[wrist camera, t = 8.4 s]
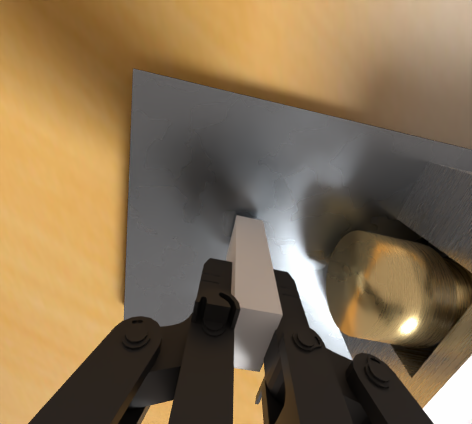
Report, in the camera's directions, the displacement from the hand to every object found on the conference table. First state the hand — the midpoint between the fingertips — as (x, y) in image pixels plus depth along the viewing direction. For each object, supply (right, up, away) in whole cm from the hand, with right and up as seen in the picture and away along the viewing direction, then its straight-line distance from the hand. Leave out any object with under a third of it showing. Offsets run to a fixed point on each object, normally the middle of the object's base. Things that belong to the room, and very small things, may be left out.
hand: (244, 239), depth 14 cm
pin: (+13, -2, +1) cm, 13 cm away
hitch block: (+7, -2, +2) cm, 7 cm away
